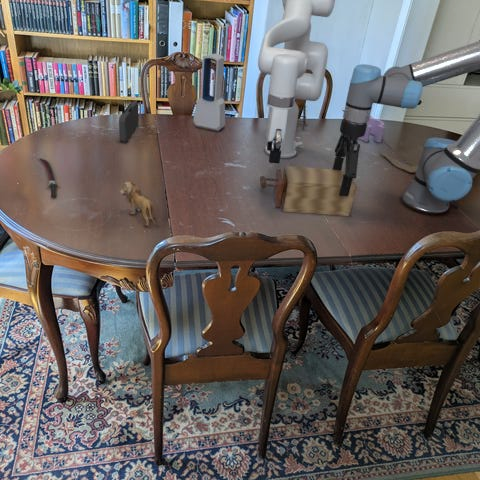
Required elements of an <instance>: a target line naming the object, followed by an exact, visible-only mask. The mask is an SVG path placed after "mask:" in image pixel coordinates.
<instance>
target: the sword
mask: <svg viewBox="0 0 480 480" xmlns="http://www.w3.org/2000/svg"><path fill="white" fill-rule="evenodd" d="M40 161H41V162H42V163H43V165H44V166H45V169H46V173H47V176H48V185H47V188H50V198H56V197H57V189H56V188H57V187H59V185H58V184H57V183H56V180H55V176H54V172H53V169H52V167H51V164H50V163H49V161H48V160H46V159H43V158H40Z"/></svg>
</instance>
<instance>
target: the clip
mask: <svg viewBox="0 0 480 480" xmlns="http://www.w3.org/2000/svg"><path fill="white" fill-rule="evenodd" d="M385 129H386V127H385V122H384V121H383V120H380V119H377V118H374V117H372V115H371V114H370V117H369V121H368V122H367V128H366V132H365V135H364V136H363V137H359V138H358V139H357V140H361V141H363V142H364V143H368V142H369V140H370V135H372V136H374V139H373V140H374V142H376V143H382V140H383V137H384V132H385Z"/></svg>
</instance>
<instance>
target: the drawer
mask: <svg viewBox="0 0 480 480" xmlns="http://www.w3.org/2000/svg"><path fill="white" fill-rule="evenodd" d="M267 181H268V182H269V181H271V182H274V184H272V183H267ZM259 182H260V188H262V189H265V188H266V187H268V188H269V187H271V188H273V199H274V204H275V208H281V203H282V201H281V195H282V194H283V199H284V201H285V195H286V189H287V178H286V174H285V179H284V185H283V175H282V171H281V169H279V168H276V173H275V178H271V177H270V178H269V177H265V175H261V176H260V177H259ZM282 189H283V192H282Z"/></svg>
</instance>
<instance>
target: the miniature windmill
mask: <svg viewBox="0 0 480 480" xmlns="http://www.w3.org/2000/svg"><path fill="white" fill-rule="evenodd" d="M306 73H309V70H308V69H307V70H306ZM294 100H295V102H296V103H297V100H298V99H294ZM306 101H307V100H303V105H302V104H297V106H298V109H299V111H302V115H298V118H302V120H299V119H298V120H297V122H300V123H302V131H305V126H306V124H307V122H306V121H307V120H306V119H307V116H306V115H307V114H306V109H307V106H306V105H307V104H306ZM299 107H303V108H299Z"/></svg>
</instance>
